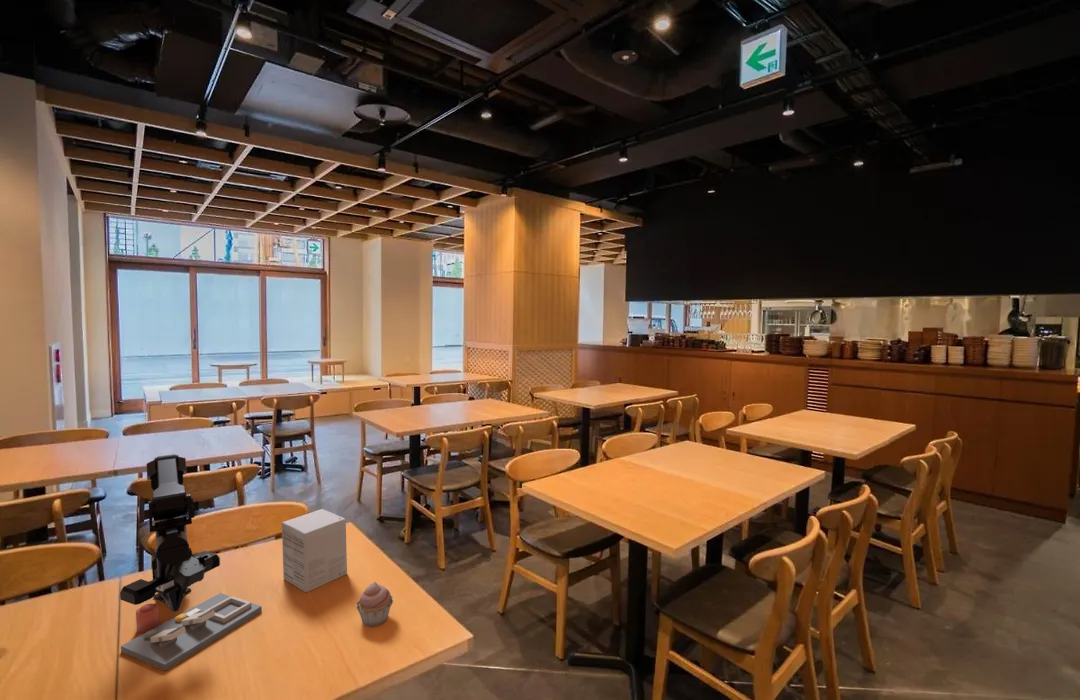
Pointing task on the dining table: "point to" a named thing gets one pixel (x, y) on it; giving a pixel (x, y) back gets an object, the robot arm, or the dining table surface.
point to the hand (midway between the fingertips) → (175, 611)
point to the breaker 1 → (168, 634)
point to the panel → (191, 631)
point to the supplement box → (314, 549)
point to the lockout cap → (147, 618)
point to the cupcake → (374, 605)
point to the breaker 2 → (198, 618)
